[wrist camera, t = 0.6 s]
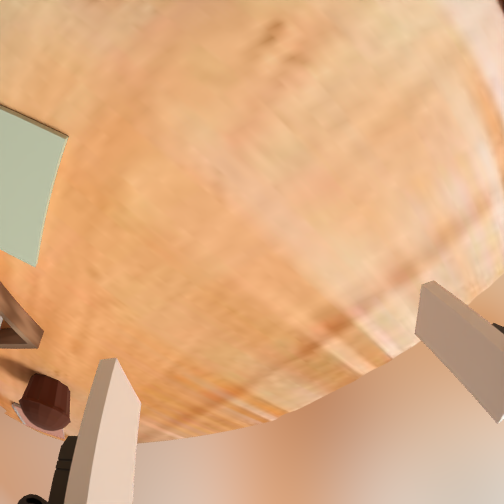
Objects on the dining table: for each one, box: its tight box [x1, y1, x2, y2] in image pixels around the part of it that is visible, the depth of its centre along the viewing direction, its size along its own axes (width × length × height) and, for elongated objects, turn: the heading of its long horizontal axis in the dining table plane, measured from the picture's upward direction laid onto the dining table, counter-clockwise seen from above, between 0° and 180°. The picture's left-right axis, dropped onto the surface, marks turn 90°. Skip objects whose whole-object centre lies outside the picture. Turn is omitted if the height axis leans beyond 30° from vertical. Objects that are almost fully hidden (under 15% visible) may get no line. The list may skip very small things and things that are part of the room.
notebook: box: [12, 403, 65, 439], centre depth 71 cm, size 27×17×2 cm, turn 151°
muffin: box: [19, 374, 70, 431], centre depth 46 cm, size 12×11×10 cm
